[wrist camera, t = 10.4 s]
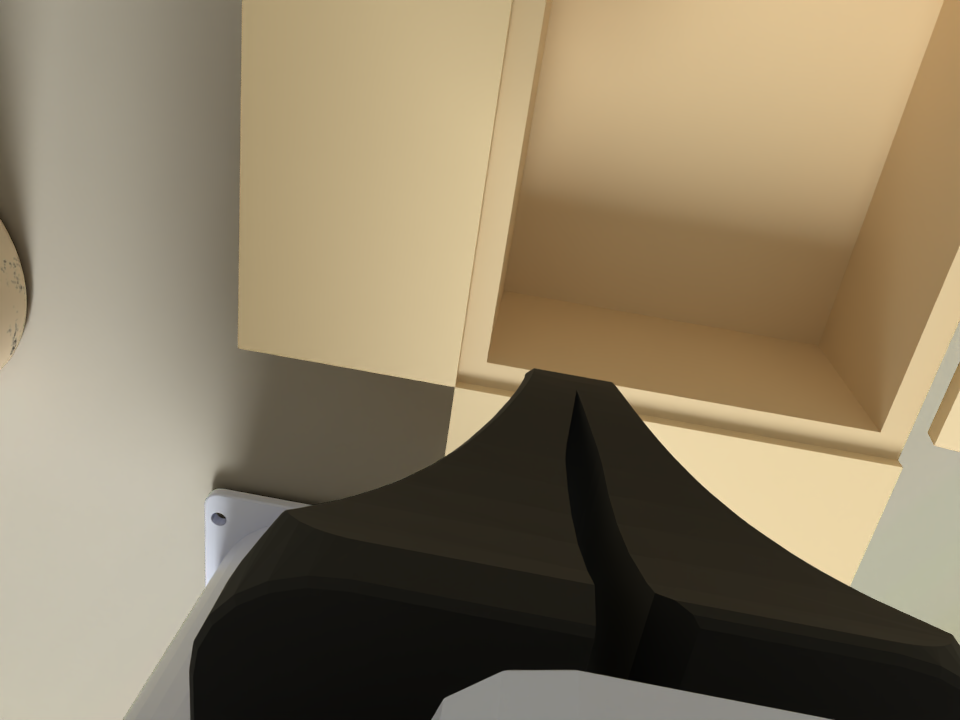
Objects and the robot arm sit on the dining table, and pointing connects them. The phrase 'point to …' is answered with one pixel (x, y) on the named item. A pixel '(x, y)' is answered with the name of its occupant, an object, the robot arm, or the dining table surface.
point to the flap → (948, 417)
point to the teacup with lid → (10, 298)
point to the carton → (623, 221)
